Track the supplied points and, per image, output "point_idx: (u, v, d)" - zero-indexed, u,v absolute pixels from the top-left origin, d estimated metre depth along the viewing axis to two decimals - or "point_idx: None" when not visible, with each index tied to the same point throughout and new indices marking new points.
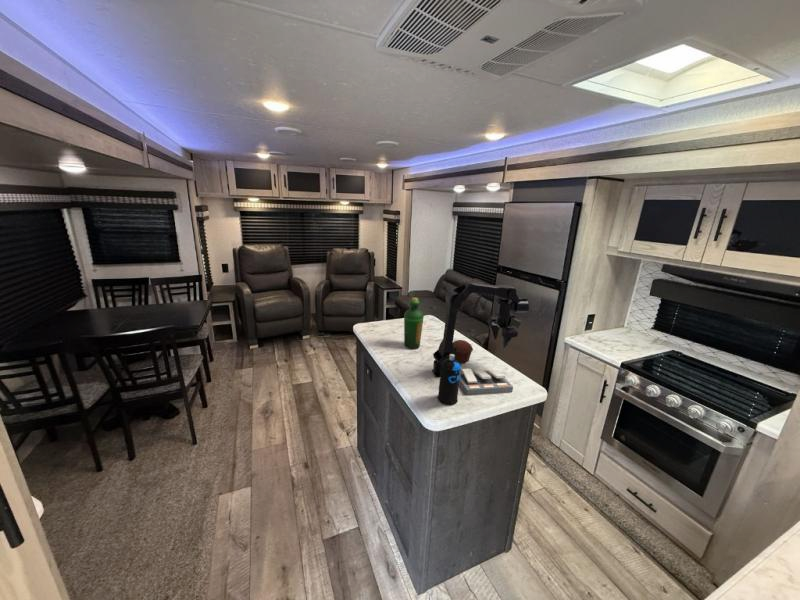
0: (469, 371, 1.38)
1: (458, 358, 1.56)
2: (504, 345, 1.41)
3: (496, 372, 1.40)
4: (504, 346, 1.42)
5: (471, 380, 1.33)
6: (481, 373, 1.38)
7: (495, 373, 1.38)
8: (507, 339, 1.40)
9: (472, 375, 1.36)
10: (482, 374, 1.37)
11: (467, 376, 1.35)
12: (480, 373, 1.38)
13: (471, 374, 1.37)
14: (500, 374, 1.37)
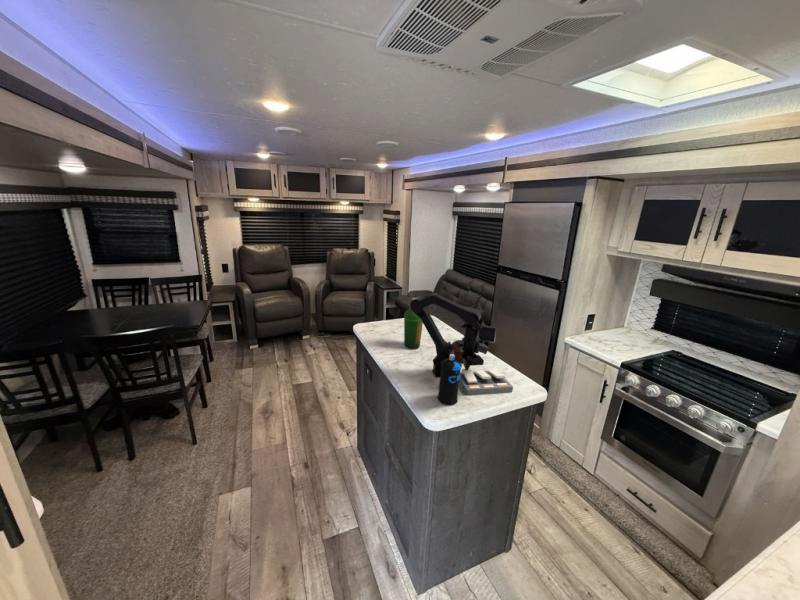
0: (469, 371, 1.38)
1: (458, 358, 1.56)
2: (466, 367, 1.38)
3: (496, 372, 1.40)
4: (466, 368, 1.39)
5: (471, 380, 1.33)
6: (481, 373, 1.38)
7: (495, 373, 1.38)
8: None
9: (472, 375, 1.36)
10: (482, 374, 1.37)
11: (467, 376, 1.35)
12: (480, 373, 1.38)
13: (471, 374, 1.37)
14: (500, 374, 1.37)
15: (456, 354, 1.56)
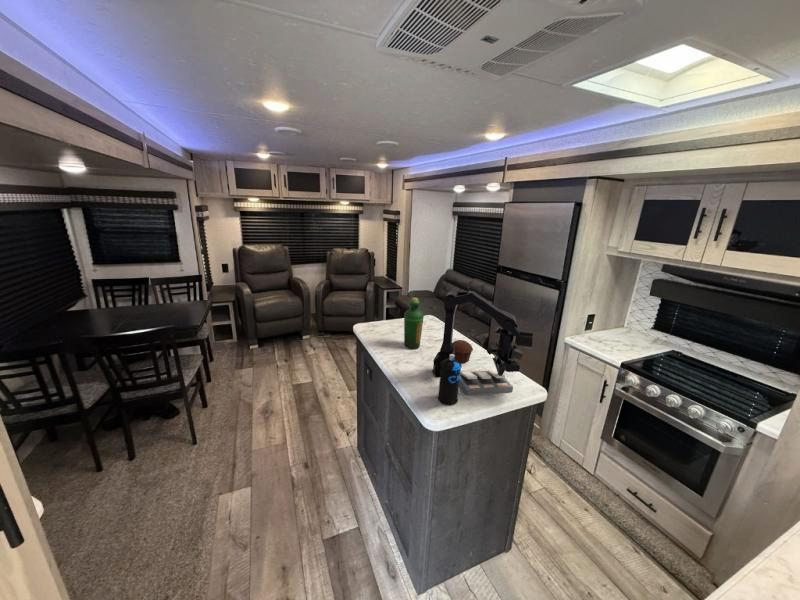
0: (468, 373, 1.39)
1: (458, 358, 1.56)
2: (500, 374, 1.35)
3: (496, 372, 1.40)
4: (500, 375, 1.35)
5: (471, 376, 1.33)
6: (481, 373, 1.38)
7: (495, 373, 1.38)
8: (503, 368, 1.33)
9: (472, 374, 1.37)
10: (482, 374, 1.37)
11: (467, 374, 1.36)
12: (480, 373, 1.38)
13: (471, 374, 1.37)
14: None
15: (456, 354, 1.56)
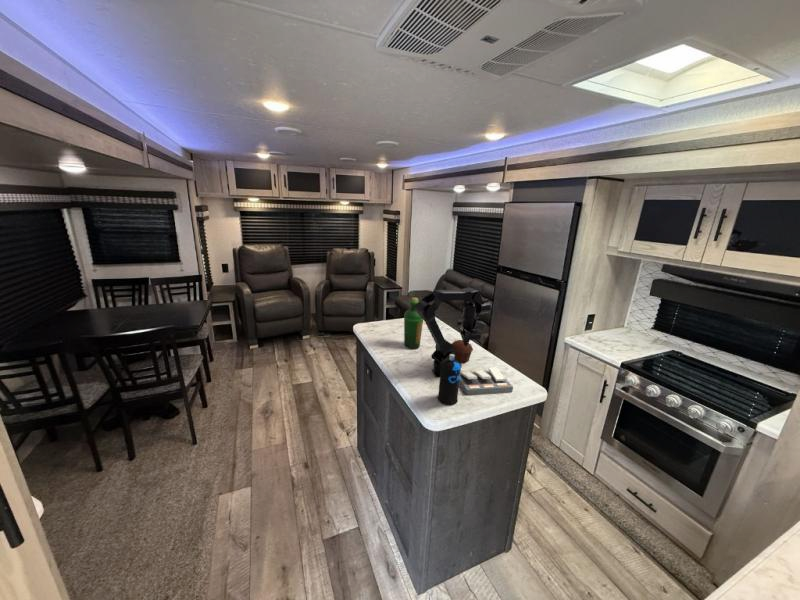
0: (468, 373, 1.39)
1: (458, 358, 1.56)
2: (465, 343, 1.47)
3: (496, 372, 1.39)
4: (465, 344, 1.47)
5: (471, 376, 1.33)
6: (481, 373, 1.38)
7: (495, 374, 1.38)
8: (468, 338, 1.46)
9: (472, 374, 1.37)
10: (482, 374, 1.37)
11: (467, 374, 1.36)
12: (480, 373, 1.38)
13: (471, 374, 1.37)
14: (500, 376, 1.37)
15: (456, 354, 1.56)
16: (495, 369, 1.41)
